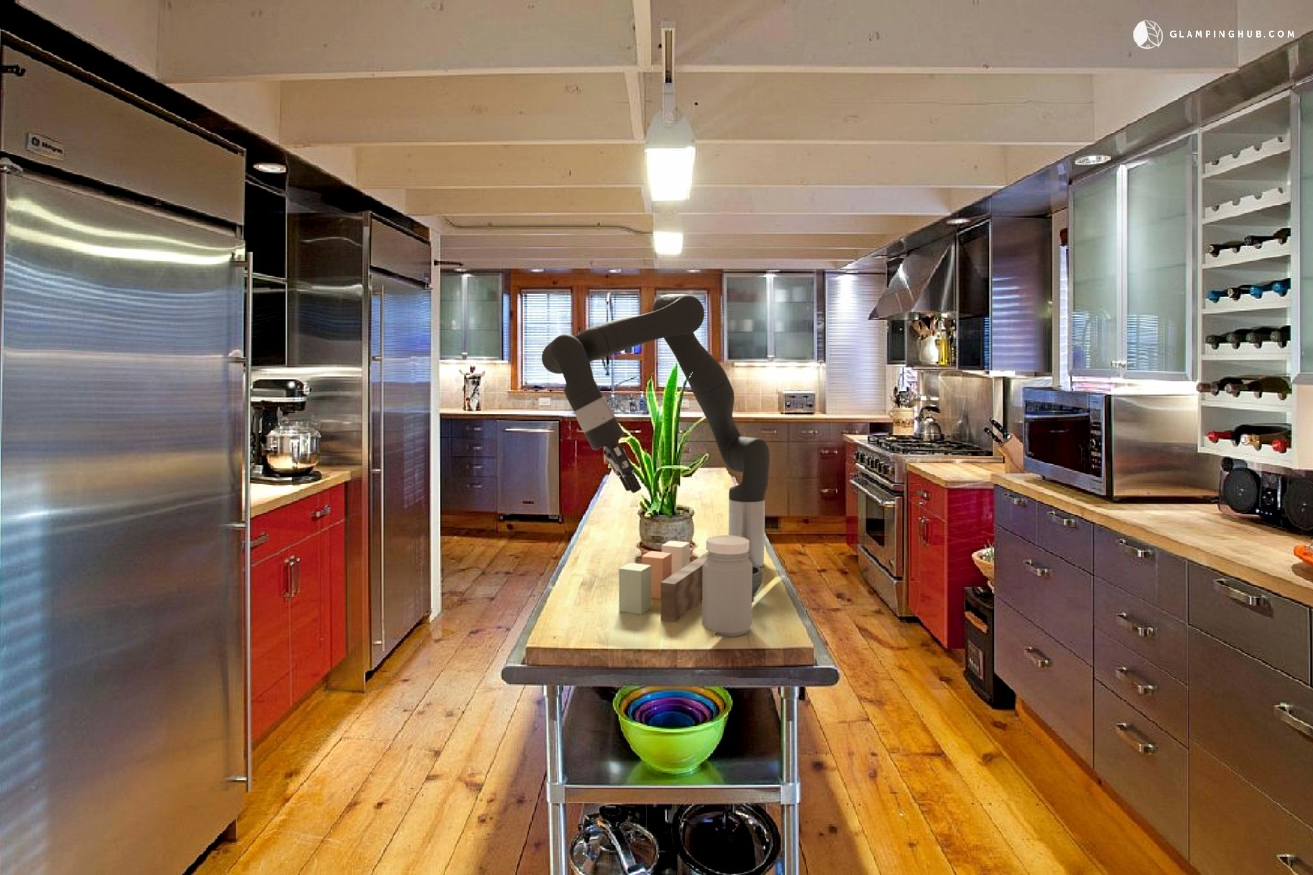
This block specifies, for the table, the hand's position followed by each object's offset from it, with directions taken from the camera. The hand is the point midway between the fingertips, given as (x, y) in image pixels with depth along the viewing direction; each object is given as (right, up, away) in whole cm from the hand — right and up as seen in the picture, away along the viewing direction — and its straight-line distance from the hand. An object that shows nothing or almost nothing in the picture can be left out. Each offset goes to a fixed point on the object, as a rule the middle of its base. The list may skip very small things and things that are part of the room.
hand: (634, 490), depth 165 cm
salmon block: (+5, -23, +5) cm, 24 cm away
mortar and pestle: (+23, -25, +4) cm, 34 cm away
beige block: (+9, -22, +15) cm, 28 cm away
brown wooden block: (+6, -25, +4) cm, 26 cm away
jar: (+19, -27, -13) cm, 35 cm away
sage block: (0, -24, -5) cm, 25 cm away
